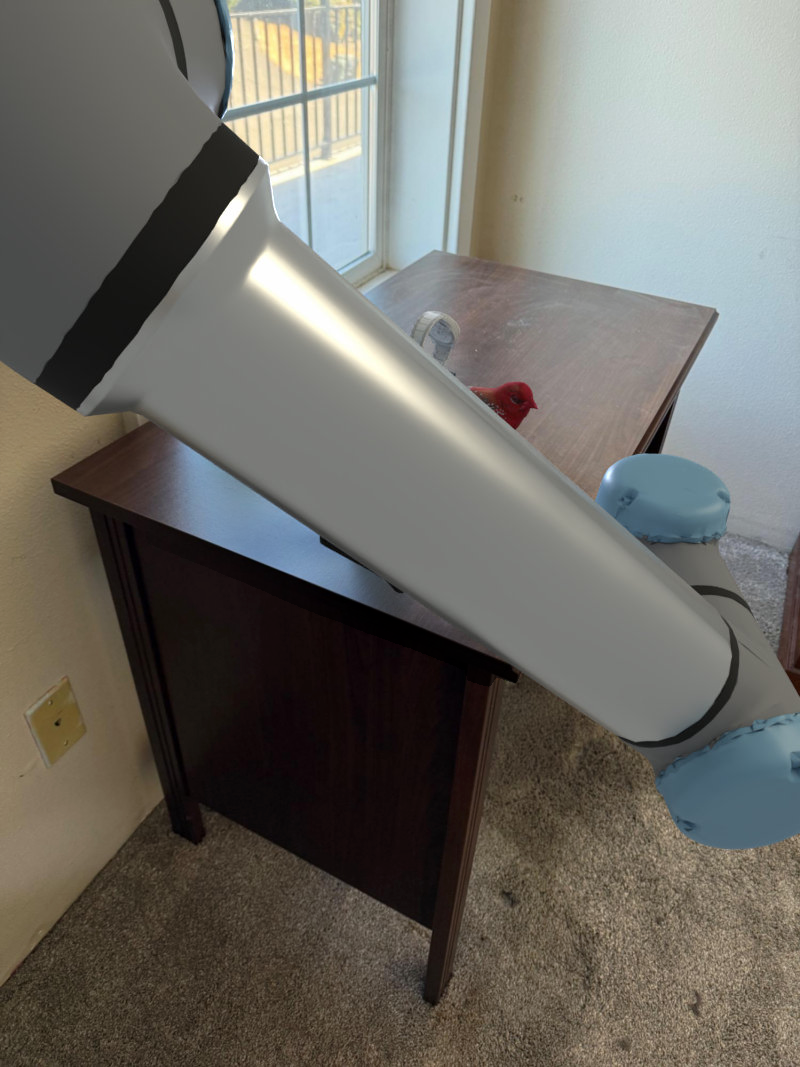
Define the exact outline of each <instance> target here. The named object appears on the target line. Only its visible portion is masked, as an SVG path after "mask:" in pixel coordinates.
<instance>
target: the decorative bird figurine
mask: <svg viewBox="0 0 800 1067" xmlns="http://www.w3.org/2000/svg"><path fill="white" fill-rule="evenodd" d="M465 386H466V387H467V388H468V389H469V390H471V391H472V392H473V393H474V394H475V395H476V396H477V397H478V398H480V399H481V400H482V401H483V402H484V403H485V404H486V405H487V406H489V407H490V408H491V409H492V410H493V411H494V412H495V413H496V414H498V415H499V416H500V417H501V418H502V419H503V420H504V421H505V422H507V423H508V424H509V425H510V426H511V427H512V428H513V429H514V430H515V431H517V429H518V428H519V427H520V425H521V424H522V422H523V420H524V419H525V418H527V417H528V415H529V413H530V411H531V409H534V410H539V407H538V405H537V403H536V402H535V399H534V393H533V391H532V389H531V387H530V386H529V385H528V384H527V383H526V382H523V381H509V382H505V383H503V384H501V385H500V386H498V387H482V386H477V385H476V386H475V385H465Z"/></svg>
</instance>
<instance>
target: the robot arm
mask: <svg viewBox="0 0 800 1067" xmlns="http://www.w3.org/2000/svg"><path fill="white" fill-rule="evenodd" d="M235 56H236V54H235V40H234V32H233V24H232V19H231V15H230V10H229V6H228V3H227V0H0V362H1V363H2V364H4V365H5V366H6V367H7V368H9V369H11V370H12V371H13V372H15V373H16V374H18V375H19V376H21V377H22V378H24V379H25V380H27V381H28V382H30V383H31V384H33V385H35V386H37V387H38V388H39V389H41V390H43V391H45V392H46V393H48V394H49V395H51V396H52V397H54V398H55V399H57V400H58V401H59V402H61V403H63V404H64V405H66V406H67V407H69V408H70V409H72V410H73V411H75V412H76V413H78V414H79V415H82V416H83V417H93V416H102V415H110V414H117V413H125V412H127V413H128V412H130V413H133V414H136V415H139V416H142V417H143V418H145V419H146V420H148V421H149V422H151V423H152V424H154V425H155V426H157V427H159V428H160V429H161V430H163V431H164V432H166V433H167V434H169V435H170V436H172V437H173V438H175V439H176V440H177V441H179V442H180V443H182V444H183V445H185V446H186V447H188V448H189V449H191V450H192V451H194V452H195V453H197V454H198V455H200V456H201V457H203V458H204V459H205V460H207V461H208V462H210V463H212V464H213V465H215V466H216V467H218V469H221V471H223V472H225V473H226V474H228V475H229V476H231V477H232V478H233V479H235V480H237V481H238V482H239V483H241V484H242V485H245V486H246V487H247V488H248V489H250V490H251V491H253V492H255V493H256V494H258V495H259V496H260V497H262V498H263V499H264V500H266V501H267V502H269V503H271V504H272V505H274V506H275V507H276V508H278V509H279V510H281V511H283V512H284V513H286V514H287V515H288V516H290V517H292V518H293V519H294V520H296V521H297V522H299V523H300V524H302V525H303V526H305V527H306V528H308V529H309V530H311V531H312V532H313V533H315V534H316V535H318V537H319V538H318V539H319V544H320V545H322V546H323V547H325V548H327V549H329V550H331V551H333V552H334V553H336V554H338V555H340V556H342V557H343V558H345V559H347V560H348V561H351V562H352V563H354V564H356V565H358V566H360V567H361V568H364V569H365V570H367V571H369V572H370V573H372V574H374V575H376V576H378V577H380V578H382V579H383V580H385V582H386V583H387V584H388V585H389V586H390V587H391V589H392V590H393V591H394V592H395V593H396V594H405V595H407V596H408V597H410V598H411V599H413V600H414V601H415V602H417V603H419V605H421V606H423V607H425V608H426V609H428V610H429V611H430V612H432V613H433V614H435V615H437V617H440V619H442V620H444V621H445V622H446V623H448V624H450V626H452V627H454V628H456V629H457V630H459V631H460V632H462V633H463V634H465V635H466V636H468V637H469V638H471V639H472V640H474V641H475V642H476V643H478V644H480V645H481V646H483V647H484V648H485V649H487V650H489V652H491V653H493V654H494V655H496V656H498V657H499V658H500V659H501V660H503V661H504V662H506V663H507V664H509V665H510V666H512V667H513V668H515V669H516V670H518V671H520V672H521V673H522V674H524V675H525V676H527V677H528V678H530V679H531V680H532V681H534V682H536V683H537V684H539V685H540V686H542V687H543V688H545V690H548V691H549V692H551V693H552V694H554V695H555V696H556V697H558V698H559V699H561V700H562V701H564V702H565V703H567V704H568V705H569V706H571V707H572V708H574V709H576V710H577V711H578V712H580V713H581V714H583V715H585V716H586V717H588V719H591V720H592V721H593V722H595V723H596V724H598V725H599V726H601V727H602V728H604V729H605V730H607V731H608V732H610V733H611V734H612V735H614V736H616V737H617V738H618V739H620V741H622V742H623V743H625V744H626V745H627V746H629V747H630V748H632V749H633V750H635V751H637V752H638V753H639V754H641V755H642V756H644V758H645V759H647V761H648V762H649V764H650V765H651V767H652V770H653V773H654V774H653V775H654V777H655V780H654V784H655V788H656V789H655V790H656V791H657V792H658V794H660V796H662V798H663V800H664V803H665V805H666V807H667V809H668V812H669V814H670V818H671V819H672V822H673V823H674V824H675V826H676V828H677V829H678V830H679V832H681V834H683V835H684V836H686V838H688V839H690V840H692V841H693V842H695V843H696V844H697V843H698V844H700V845H703V846H706V847H711V848H714V849H719V850H751V849H757V848H762V847H767V846H771V845H774V844H778V843H781V842H784V841H785V840H787V839H790V838H793V837H794V836H796V835H799V834H800V695H799V694H798V692H797V690H796V688H795V686H794V684H793V683H792V681H791V679H790V678H789V676H788V674H787V672H786V671H785V668H783V665H782V663H781V662H780V660H779V659H778V657H777V655H776V653H775V651H774V650H773V648H772V646H771V644H770V643H769V641H768V639H767V638H766V636H765V634H764V632H763V631H762V629H761V627H760V625H759V623H758V621H757V620H756V617H755V615H754V613H753V611H752V610H751V607H750V605H749V603H748V601H747V599H746V598H745V595H744V594H743V593H742V591H741V589H740V586H739V585H738V583H737V581H736V580H735V578H734V576H733V574H732V572H731V571H730V569H729V566H728V565H727V564H726V561H725V560H724V559H723V556H722V554H721V553H720V548H719V542H720V540H721V539H722V538H723V537H724V535H725V533H726V532H727V529H728V526H727V521H728V518H729V514H730V510H731V502H732V501H731V493H730V490H729V489H728V486H727V485H726V484H725V482H724V481H723V480H722V478H721V477H720V476H718V475H717V474H716V473H715V472H713V471H712V470H711V469H709V468H708V467H705V466H704V465H702V464H700V463H698V462H696V461H693V460H691V459H688V458H686V457H682V456H679V455H673V454H668V453H637V454H633V455H629V456H626V457H623V458H621V459H619V460H617V461H615V462H614V463H613V464H612V465H611V466H609V467H608V468H607V469H606V471H605V473H604V474H603V477H602V479H601V482H600V484H599V485H600V486H599V488H598V491H597V494H596V497H595V500H594V499H593V498H592V497H591V496H590V495H588V494H587V493H586V492H585V491H584V490H583V489H582V488H581V487H579V485H577V484H576V483H575V482H574V481H573V480H571V478H569V477H568V476H567V475H566V474H565V473H564V472H563V471H562V470H561V469H560V468H558V467H557V466H556V465H555V464H554V463H552V461H551V460H549V459H548V458H547V457H546V456H545V455H544V454H542V453H541V451H539V450H538V449H537V448H536V447H535V446H534V445H533V444H531V443H530V442H529V441H528V440H527V439H525V437H524V436H522V435H521V434H520V433H519V432H518V431H517V430H514V429H513V428H512V427H511V426H510V425H509V424H508V423H507V422H505V421H504V420H503V419H502V418H501V417H500V416H499V415H498V414H496V413H495V412H494V411H493V410H492V409H491V408H490V407H489V406H487V405H486V404H485V403H484V402H483V401H482V400H481V399H480V398H478V397H477V396H476V395H475V394H474V393H473V392H472V391H471V390H469V389H468V388H467V387H466V386H467V385H465V384H464V383H463V382H462V381H460V379H458V378H457V377H456V375H455V376H454V375H453V374H452V373H450V372H451V371H450V370H448V369H447V368H446V366H443V365H441V364H440V363H439V362H438V361H437V360H436V359H435V358H434V357H432V356H433V355H431V354H430V353H429V352H428V351H427V350H426V349H425V348H422V347H421V346H420V345H419V344H418V343H417V342H416V341H414V340H413V339H412V338H411V337H410V335H409V334H408V333H407V332H406V331H405V330H403V329H402V328H401V327H400V326H399V325H398V324H397V323H396V322H394V321H393V320H392V319H391V318H390V317H389V316H387V314H386V313H384V312H383V311H382V310H381V309H380V308H379V307H377V306H376V304H374V303H373V302H372V301H371V300H370V299H369V298H367V296H365V295H364V294H363V293H362V292H361V291H359V290H358V289H357V287H355V286H354V285H353V284H352V283H351V282H350V281H348V280H347V279H346V278H345V277H344V276H343V275H342V274H341V273H340V272H338V271H337V270H336V269H335V268H334V267H332V266H331V264H329V262H328V261H326V260H325V259H324V258H323V257H322V256H320V255H319V253H317V252H316V251H315V250H314V249H312V248H311V247H310V246H309V245H308V244H307V243H306V242H304V240H302V239H301V238H300V237H299V236H298V235H297V234H296V233H294V231H292V230H291V228H289V227H288V226H287V225H286V224H285V223H283V222H282V220H281V219H280V216H279V214H278V211H277V208H276V206H275V200H274V199H275V198H274V192H273V186H272V178H271V171H270V165H269V163H268V162H266V160H264V159H263V158H262V157H261V155H259V154H258V153H257V152H256V151H255V150H254V149H252V147H250V145H248V144H247V142H245V141H244V140H243V139H242V138H241V137H239V135H237V134H236V133H235V131H233V130H232V129H231V128H230V127H229V126H228V125H226V123H225V122H224V121H223V118H224V117H225V115H226V113H227V112H228V107H229V106H228V105H229V100H230V96H231V93H232V90H233V81H234V74H235V59H236V58H235ZM449 371H450V372H449Z"/></svg>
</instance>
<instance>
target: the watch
mask: <svg viewBox="0 0 800 1067" xmlns="http://www.w3.org/2000/svg"><path fill="white" fill-rule="evenodd" d="M460 335H461V329H460V326H459V325H458V323H457V322H456V321H455V319H454V318H452V316H450V315H448V314H446V313H444V312H442V311H439V310H431V311H429V310H428V311H427V310H425V311H424V312H422V314H421V315H420V316H418V318H417V319H416V320H415V322H414V324H413V327H412V328H411V331H410V335H409V336H410V337H411V338H412V339H413V340H414V341H416V342H417V343H418V344H419V345H420V346H421V347H422V348H423V349H425V342H426V339H427V337H428V336H429V338H430V340H431V343H432V344H433V345H434V349H433V352H432V355H431V356H432V357H434V358H435V359H436V360H437V361H438V362H439V363H440V364H441V365H443V366H444V367H446V365H447V363H448V361H449V359H450V357H451V354H452V350H454V349H455V347H456V344H457V341H458V338H459V337H460ZM448 371H449V372H450V373H452V374H453V375H454V376H455V377H456V372H454V371H450V370H448Z"/></svg>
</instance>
